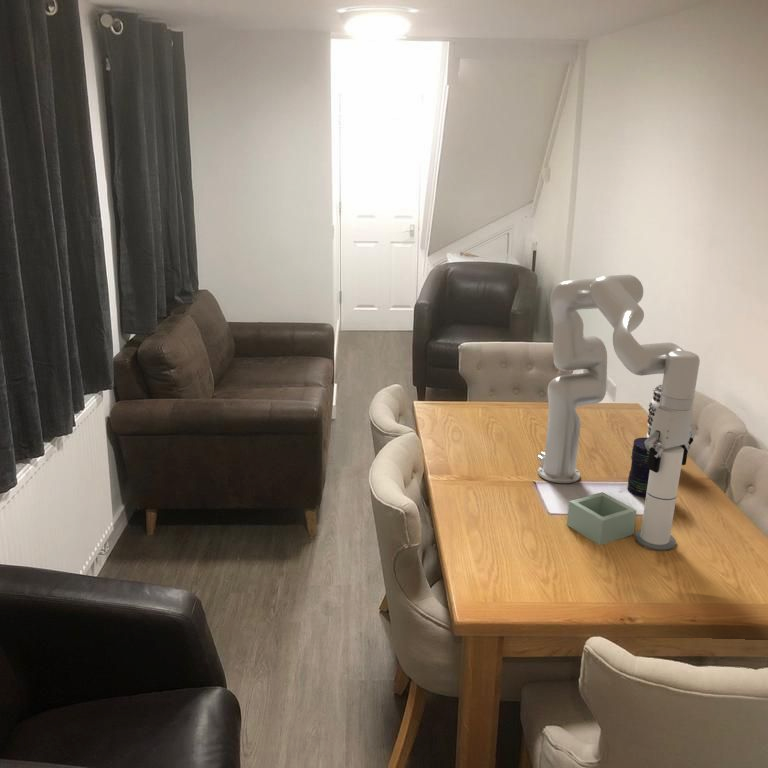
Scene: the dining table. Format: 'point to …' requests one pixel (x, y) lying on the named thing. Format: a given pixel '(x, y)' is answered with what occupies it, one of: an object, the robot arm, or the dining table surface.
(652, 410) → the decorative candle
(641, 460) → the storage jar
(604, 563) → the dining table surface
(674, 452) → the cylindrical container
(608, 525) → the collar
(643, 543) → the grey round disc
